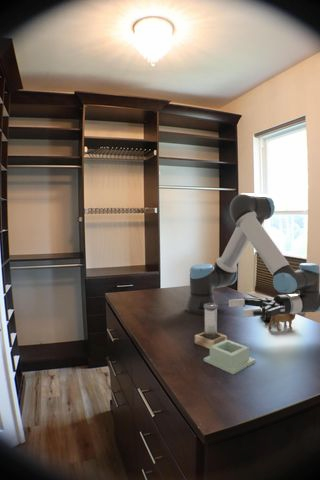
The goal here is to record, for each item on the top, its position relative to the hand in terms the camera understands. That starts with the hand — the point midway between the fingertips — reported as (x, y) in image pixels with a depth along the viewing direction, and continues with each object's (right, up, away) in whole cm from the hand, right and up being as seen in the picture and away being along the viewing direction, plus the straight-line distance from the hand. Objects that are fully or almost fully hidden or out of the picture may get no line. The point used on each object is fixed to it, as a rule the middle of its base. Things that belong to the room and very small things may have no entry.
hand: (236, 308), depth 122 cm
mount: (-10, -13, 0) cm, 17 cm away
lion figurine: (+23, -12, +15) cm, 30 cm away
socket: (-6, -15, -15) cm, 22 cm away
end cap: (+22, -11, +26) cm, 36 cm away
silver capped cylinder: (-10, -13, 0) cm, 17 cm away
